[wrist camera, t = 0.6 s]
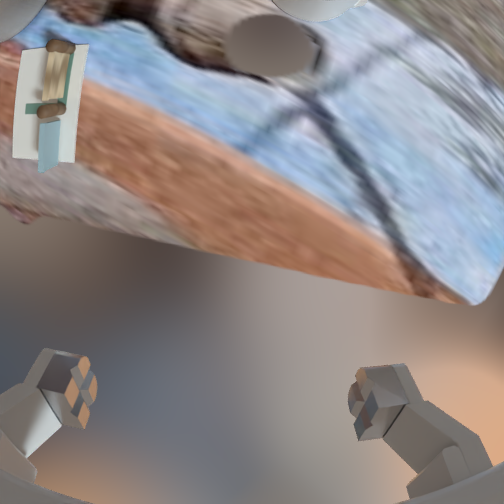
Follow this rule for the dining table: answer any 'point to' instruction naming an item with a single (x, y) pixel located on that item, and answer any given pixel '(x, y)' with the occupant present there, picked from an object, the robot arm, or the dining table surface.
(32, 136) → the card
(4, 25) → the planter
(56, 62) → the pine fence section
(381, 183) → the dining table surface
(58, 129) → the light blue rectangular panel
